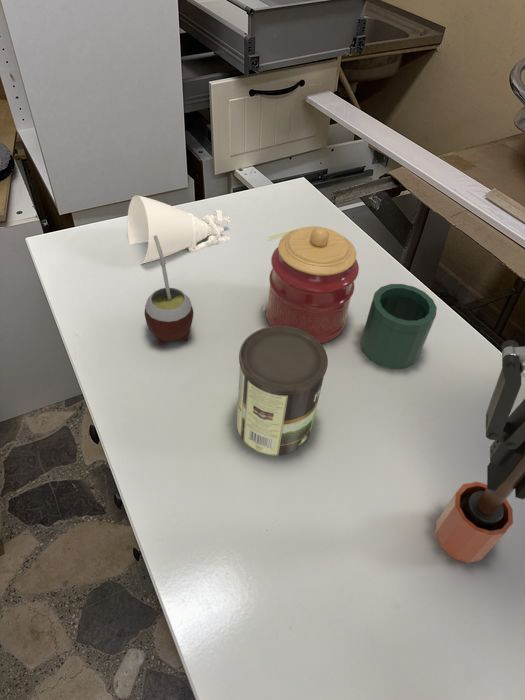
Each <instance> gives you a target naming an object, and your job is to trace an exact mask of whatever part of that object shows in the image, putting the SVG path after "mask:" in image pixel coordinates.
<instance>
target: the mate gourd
mask: <svg viewBox="0 0 525 700" xmlns="http://www.w3.org/2000/svg"><path fill="white" fill-rule="evenodd" d="M154 240H155V243H156V246H157V249H158V253H159V256H160V258H159V259H158V260H159V264H160V266H161V271H162V276H163V282H164V286H165V287H161V288H159V289H157V290H155V291H153V293H151V294H150V295H149V296H148V298H147V300H146V303H145V305H144V318H145V322H146V326H147V327H148V329H149V330H150V332H151V334H153V335H154V337H155V339H156V341H157V344H158V346H162V345H163V344H164V343H165V342H174V341H177V340H181V341H185V342H187V341H188V339H189V337H190V334H191V333H190V332H191V328H192V324H193V320H194V308H193V304H192V301H191V299H190V297H189V296H188V295H187V294H185V293H184V292H183V290H181V289H179V288H176V287H170V284H169V279H168V272H167V266H166V264H167V262H166V257H163V253H162V249H161V246H160V243H159V240H158V237H157V236H154Z"/></svg>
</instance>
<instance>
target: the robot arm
mask: <svg viewBox="0 0 525 700" xmlns="http://www.w3.org/2000/svg"><path fill="white" fill-rule="evenodd" d="M522 378H525V346H519V342H517V341H516V340H513V339H507V340H505V341H503V342H502V344H501V370H500V372H499V376H498V379H497V380H496V381H497V382H496V384H495V387H494V390H493V392H492V395H491V398H490V401H489V404H488V407H487V409H486V413H485V437H486V439H488V440H491V441H493V442H492V444H491V445H490V446H489V463H488V465H487V466H486V467H487V468H486V474H487V475H486V485H487V489H489V490H492V491H496V490H497V488H498V487H499V486H500V484H501V483H502V482H503V480H504V479H505V478H506V477H507V475H508V474H509V473H510V471H511V470H512V469H513V468H514V466H515V465H516V464H517V462H518V461H519V460H520V459H521V457H522V456H523V445H522V443H523V442H524V441H525V398H524V399H522V401H521V402H520V403H519V405H518V406H516V408H515V409H514V410H512V409H513V407H514V404H515V402H516V399H517V397H518V394H519V392H520V389H521V387H522ZM511 412H512V413H511ZM514 494H515V498H516V499H520V500H524V499H525V477H524V478H523V479H522V480H521V482H520V483H519V484H518V485H517V487H516V488H515V489H514Z"/></svg>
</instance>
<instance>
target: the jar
mask: <svg viewBox="0 0 525 700" xmlns="http://www.w3.org/2000/svg"><path fill="white" fill-rule="evenodd" d="M369 307H370V308H369V311H368V315H367V318H366V321H365V324H364V328H363V332H362V336H361V338H360V343H359V344H360V347H361V351H362V353H363V354H364V355H365V356H366V358H367V359H368V360H369V361H370V362H373V363H374V364H376V365H378V366H380V367H383V368H387V369H391V370H397V369H398V370H402V369H406V368H409V367H411V366H413V365H414V364H415V363H416V362H417V361H418V360H419V357H420V355H421V353H422V350H423V348H424V345H425V343H426V340H427V339H428V335H429V334H430V332H431V328H432V326H433V324H434V321H435V319H436V316H437V309H438V308H437V307H438V306H437V305H436V302H435V301H434V299H433V298H432V297H431V296H430V295H428V293H426V292H425V291H424V290H422V289H420V288H418V287H416V286H413V285H408V284H404V283H389V284H386V285H383V286H381V287H379V288H378V289H377V290H376V291H374V294H373V297H372V301H371V303H370V306H369Z"/></svg>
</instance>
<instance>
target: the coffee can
mask: <svg viewBox="0 0 525 700" xmlns="http://www.w3.org/2000/svg"><path fill="white" fill-rule="evenodd" d="M328 359H329V358H328V354H327V351H326V348H325V347H324V346H323V343H320V342H319V341H318V340H317V339H316V338H315V337H313V336H312V335H310V334H308V333H307V332H305V331H302V330H300V329H297V328H293V327H287V326H272V327H271V326H267V327H263V328H260V329H258V330H256V331H254V332H252V333H251V334H249V335H248V336H247V337H246V338H245V340H244V341H243V342H242V343H241V345H240V348H239V353H238V363H239V376H238V394H237V411H236V428H237V431H238V432H237V433H238V434H239V436H240V437H241V440H242V441H243V442H244V444H246V445H247V446H248V447H249V448H251V449H253V450H255V451H256V452H258V453H261V454H264V455H267V456H268V455H269V456H285V455H289V454H292V453H294V452H296V451H298V450H299V449H301V448H302V447H304V446H305V444H306V443H307V442H308V441H309V439H310V437H311V433H312V431H313V425H314V420H315V416H316V412H317V407H318V403H319V398H320V395H321V390H322V386H323V382H324V379H325V378H324V377H325V375H326V372H327V370H328V365H329V364H328V363H329V360H328Z"/></svg>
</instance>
